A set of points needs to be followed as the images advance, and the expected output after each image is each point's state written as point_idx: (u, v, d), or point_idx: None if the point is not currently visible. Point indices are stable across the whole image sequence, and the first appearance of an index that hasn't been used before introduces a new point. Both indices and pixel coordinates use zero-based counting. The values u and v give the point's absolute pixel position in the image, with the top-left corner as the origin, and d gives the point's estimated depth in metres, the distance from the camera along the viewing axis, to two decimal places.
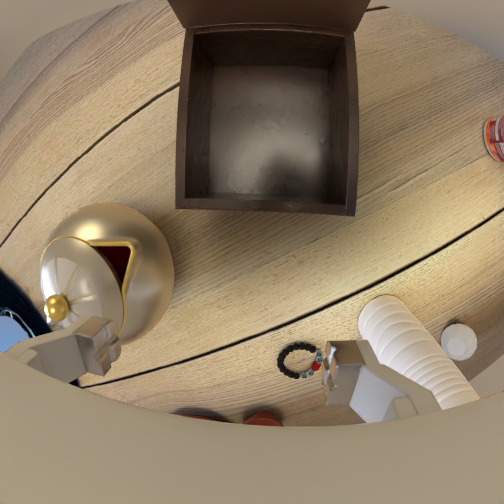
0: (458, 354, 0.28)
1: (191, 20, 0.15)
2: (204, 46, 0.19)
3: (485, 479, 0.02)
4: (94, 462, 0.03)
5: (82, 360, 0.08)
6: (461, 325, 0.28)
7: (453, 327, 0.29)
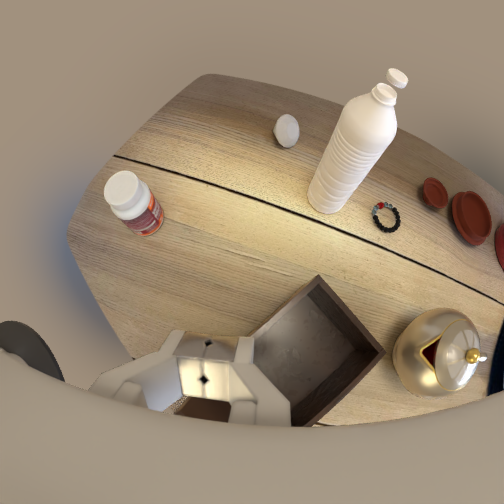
0: (294, 124, 0.45)
1: None
2: (291, 423, 0.30)
3: (485, 479, 0.02)
4: (93, 462, 0.03)
5: (180, 383, 0.08)
6: (279, 140, 0.45)
7: (284, 144, 0.46)
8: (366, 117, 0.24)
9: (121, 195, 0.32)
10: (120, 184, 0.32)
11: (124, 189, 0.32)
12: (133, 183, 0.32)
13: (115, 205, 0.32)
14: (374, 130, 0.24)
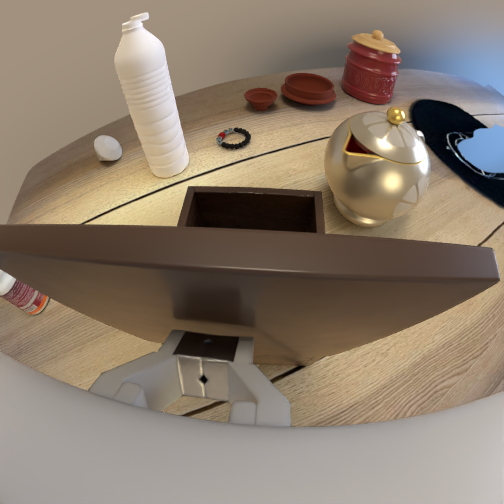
0: (109, 138, 0.42)
1: None
2: None
3: (485, 479, 0.02)
4: (93, 462, 0.03)
5: (180, 383, 0.08)
6: (105, 157, 0.41)
7: (111, 157, 0.42)
8: (128, 46, 0.22)
9: None
10: None
11: None
12: None
13: None
14: (140, 49, 0.23)
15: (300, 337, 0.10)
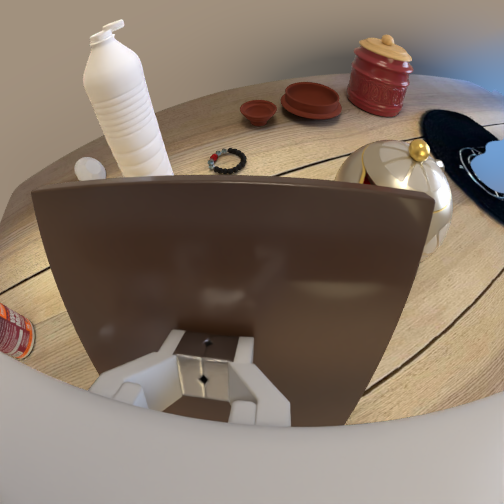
0: (91, 161, 0.38)
1: None
2: None
3: (485, 479, 0.02)
4: (93, 462, 0.03)
5: (180, 383, 0.08)
6: None
7: None
8: (97, 64, 0.18)
9: None
10: None
11: None
12: None
13: None
14: (110, 67, 0.19)
15: (297, 358, 0.10)
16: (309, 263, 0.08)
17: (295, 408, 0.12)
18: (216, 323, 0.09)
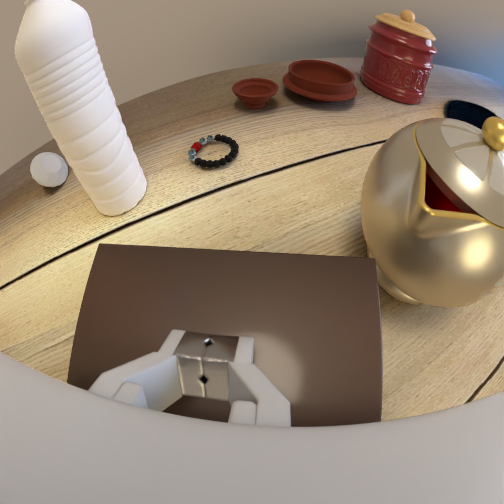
0: (50, 156, 0.28)
1: None
2: None
3: (485, 479, 0.02)
4: (93, 461, 0.03)
5: (180, 383, 0.08)
6: (43, 183, 0.27)
7: (51, 183, 0.28)
8: (27, 24, 0.08)
9: None
10: None
11: None
12: None
13: None
14: (41, 24, 0.09)
15: (295, 408, 0.09)
16: (296, 303, 0.11)
17: None
18: None
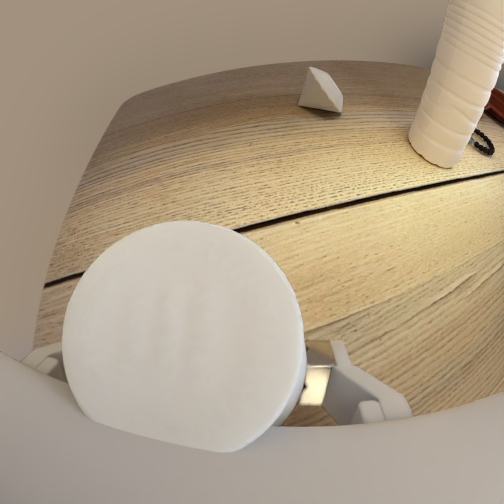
0: (329, 76, 0.25)
1: None
2: None
3: (485, 479, 0.02)
4: (94, 462, 0.03)
5: None
6: (333, 101, 0.24)
7: (339, 106, 0.25)
8: None
9: (220, 371, 0.04)
10: (149, 319, 0.05)
11: (204, 329, 0.05)
12: (232, 263, 0.05)
13: (230, 451, 0.04)
14: None
15: None
16: None
17: None
18: None
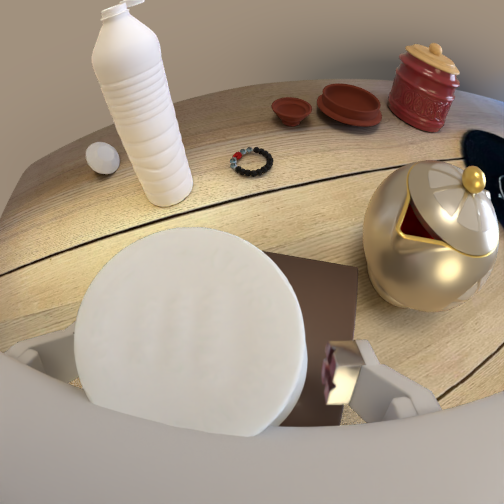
0: (105, 146, 0.36)
1: None
2: None
3: (485, 479, 0.02)
4: (93, 462, 0.03)
5: None
6: (97, 170, 0.35)
7: (104, 170, 0.36)
8: (106, 41, 0.15)
9: (227, 369, 0.05)
10: (158, 321, 0.05)
11: (212, 329, 0.05)
12: (237, 267, 0.06)
13: None
14: (120, 45, 0.16)
15: None
16: (302, 289, 0.18)
17: (287, 419, 0.14)
18: None
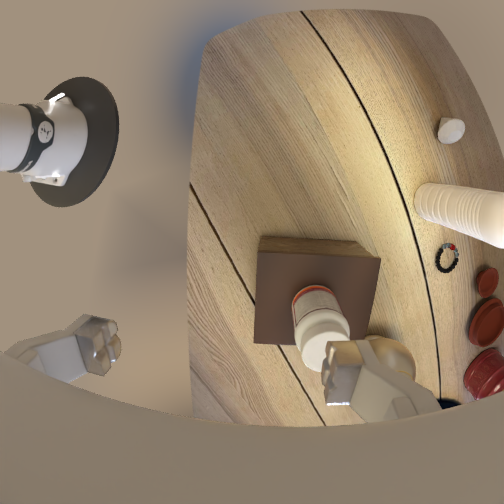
0: (460, 134, 0.33)
1: None
2: None
3: (485, 479, 0.02)
4: (94, 462, 0.03)
5: (82, 360, 0.08)
6: (439, 132, 0.35)
7: (440, 137, 0.36)
8: None
9: (321, 362, 0.26)
10: None
11: None
12: None
13: (306, 364, 0.26)
14: (499, 234, 0.20)
15: None
16: (353, 324, 0.37)
17: None
18: None
